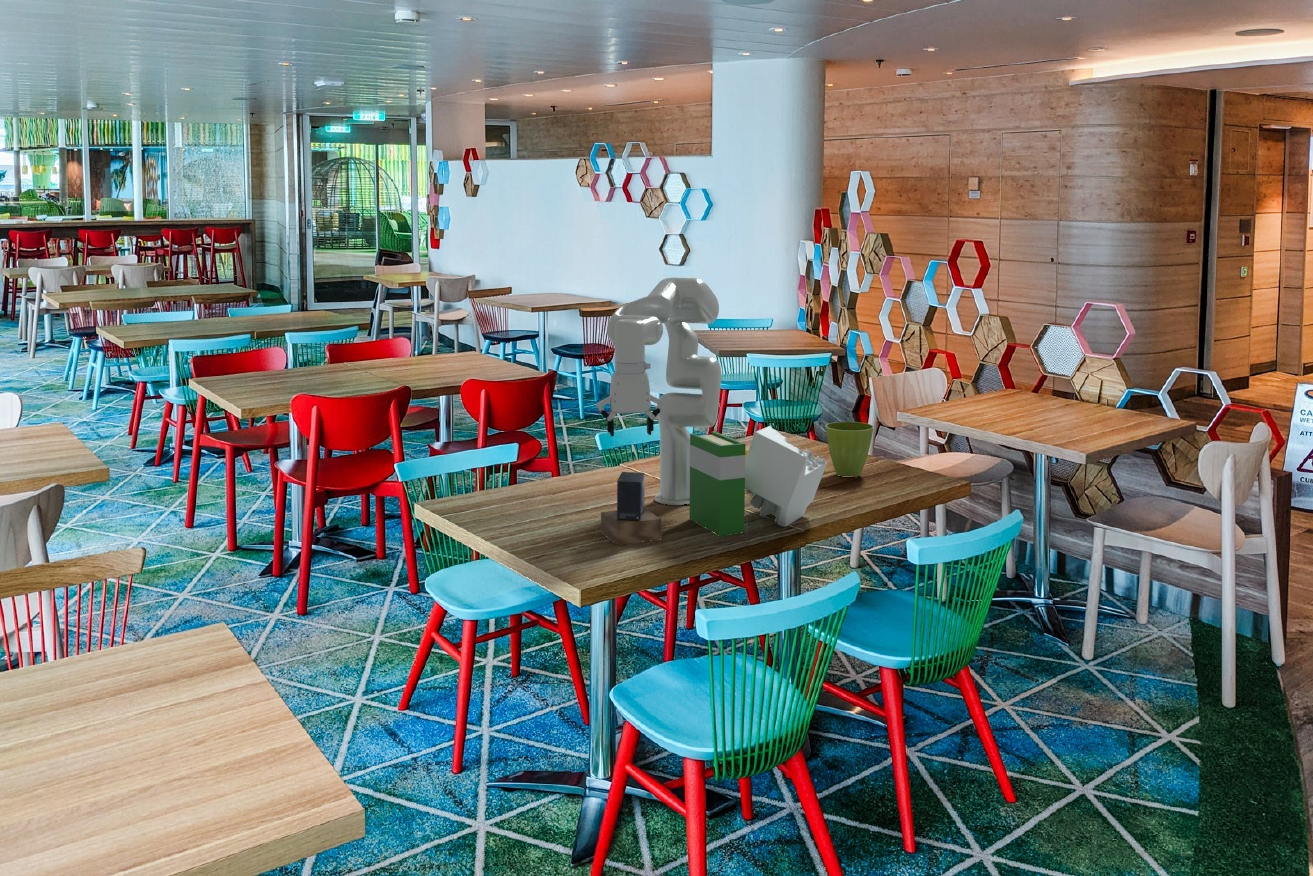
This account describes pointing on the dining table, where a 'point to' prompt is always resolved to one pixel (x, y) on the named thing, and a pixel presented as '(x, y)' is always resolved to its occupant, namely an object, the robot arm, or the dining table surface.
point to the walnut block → (631, 528)
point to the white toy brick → (781, 476)
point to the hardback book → (717, 483)
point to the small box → (630, 496)
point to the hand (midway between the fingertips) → (630, 434)
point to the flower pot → (849, 446)
